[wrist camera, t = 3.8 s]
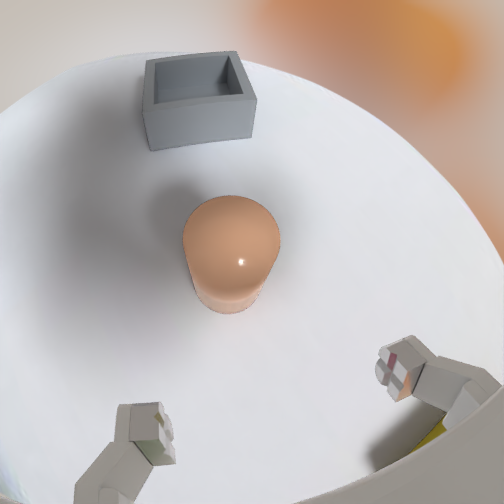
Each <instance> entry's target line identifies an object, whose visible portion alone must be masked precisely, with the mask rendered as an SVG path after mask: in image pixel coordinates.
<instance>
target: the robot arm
mask: <svg viewBox="0 0 504 504" xmlns="http://www.w3.org/2000/svg"><path fill="white" fill-rule="evenodd" d="M378 355H379V356H380V359H379V360H378V361H377V363H376V366H375V373H376V377H377V379H378V381H379V382H380V383H381V384H382V385H385V386H387V392H388V394H389V395H390V396H391V397H392V399H393V400H394V401H395V402H398V401H400V400H402V399H404V398H406V397H408V396H410V395H412V396H414V397H416V398H418V399H420V400H422V401H424V402H426V403H428V404H430V405H432V406H434V407H437V408H439V409H441V410H443V411H445V412H447V415H446V416H445V418H444V419H443V422H442V424H443V425H444V427H445V428H446V429H447V431H446V432H444V433H443V434H441V435H440V436H438V437H437V438H435V439H434V440H432V441H430V442H429V443H427V444H426V445H424V446H423V447H421V448H419V449H418V450H416V451H414V452H412V453H411V454H409V455H407V456H405V457H404V458H402V459H400V460H398V461H396V462H395V463H393V464H391V465H389V466H387V467H385V468H383V469H381V470H379V471H377V472H375V473H373V474H370V475H368V476H366V477H364V478H362V479H359V480H357V481H355V482H352V483H350V484H348V485H345V486H343V487H340V488H338V489H335V490H332V491H330V492H327V493H324V494H321V495H318V496H315V497H312V498H309V499H306V500H303V501H300V502H296V503H293V504H504V385H503V386H502V385H501V384H500V383H499V382H498V381H497V380H496V379H494V378H493V377H492V376H491V375H490V374H489V373H488V372H487V371H486V370H485V369H483V368H479V367H476V366H472V365H469V364H465V363H462V362H458V361H455V360H452V359H448V358H445V357H441V356H438V357H436V356H435V355H434V354H433V353H432V352H431V351H430V350H429V349H428V348H427V347H426V346H425V345H424V344H423V343H422V342H421V341H419V340H418V339H417V338H416V337H415V336H413V335H410V336H408V337H405V338H403V339H400V340H398V341H395V342H393V343H391V344H388V345H386V346H383V347H381V349H380V350H379V354H378ZM173 439H174V436H173V429H172V424H171V421H170V419H169V416H168V415H167V414H165V413H164V406H163V405H162V403H161V402H151V403H136V404H119V406H118V408H117V416H116V425H115V435H114V442H110V443H109V444H108V445H107V447H106V448H105V449H104V450H103V451H102V453H101V454H100V455H99V456H98V457H97V459H96V460H95V461H94V462H93V463H92V465H91V466H90V467H89V468H88V469H87V471H86V472H85V473H84V474H83V475H82V477H81V478H80V479H79V480H78V481H77V482H76V484H75V491H74V504H134V501H135V499H136V497H137V496H138V494H139V492H140V490H141V489H142V487H143V485H144V483H145V481H146V480H147V478H148V476H149V474H150V473H151V471H152V469H153V466H161V465H171V464H176V459H175V449H174V447H173V445H172V444H171V442H172V440H173ZM0 504H22V503H19V502H16V501H13V500H10V499H7V498H5V497H2V496H0Z"/></svg>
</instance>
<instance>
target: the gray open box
mask: <svg viewBox="0 0 504 504" xmlns="http://www.w3.org/2000/svg"><path fill="white" fill-rule="evenodd" d="M256 104H257V98H256V95H255V93H254V91H253V88H252V86H251V84H250V81H249V79H248V77H247V74H246V72H245V70H244V67H243V65H242V63H241V61H240V58H239V56H238V54H237V52H236V51H224V52H210V53H198V54H188V55H180V56H172V57H165V58H159V59H153V60H147V61H146V68H145V78H144V91H143V106H142V115H143V120H144V124H145V129H146V133H147V137H148V142H149V146H150V150H151V151H156V150H161V149H167V148H173V147H179V146H186V145H193V144H200V143H208V142H216V141H225V140H234V139H245V138H251V137H252V130H253V124H254V117H255V111H256Z"/></svg>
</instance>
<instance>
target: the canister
mask: <svg viewBox="0 0 504 504" xmlns="http://www.w3.org/2000/svg"><path fill="white" fill-rule="evenodd" d="M183 247H184V251H185V255H186V259H187V262H188V266H189V270H190V273H191V277H192V280H193V284H194V287H195V291H196V293H197V296H198V297H199V299H200V300H201V302H202V303H203V304H204V305H205V306H206V307H208V308H209V309H211V310H213V311H215V312H218V313H222V314H234V313H238V312H241V311H243V310H245V309H247V308H248V307H249V306H251V305H252V304H253V303H254V301H255V300H256V298H257V297H258V295H259V293H260V291H261V289H262V287H263V285H264V283H265V280H266V278H267V276H268V274H269V272H270V270H271V268H272V266H273V264H274V262H275V260H276V258H277V255H278V253H279V249H280V233H279V228H278V226H277V223H276V221H275V220H274V218H273V217H272V215H271V214H270V213H269V212H268V211H267V210H266V209H265V208H264V207H263V206H262V205H260V204H259V203H257V202H255V201H253V200H251V199H248V198H245V197H240V196H221V197H216V198H213V199H211V200H208V201H206V202H205V203H203V204H201V205H200V206H199V207H198V208H196V209H195V210H194V211H193V213H192V214H191V215H190V217H189V218H188V220H187V222H186V224H185V227H184V231H183Z"/></svg>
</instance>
